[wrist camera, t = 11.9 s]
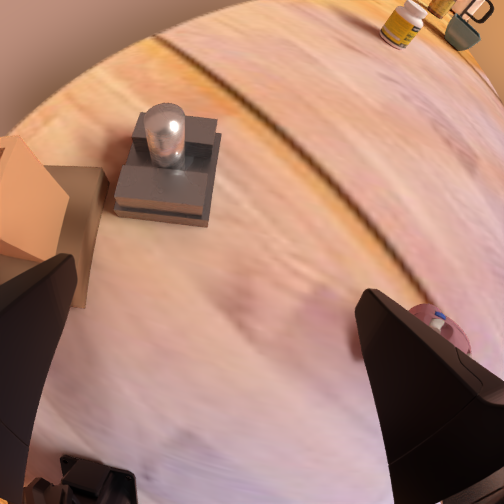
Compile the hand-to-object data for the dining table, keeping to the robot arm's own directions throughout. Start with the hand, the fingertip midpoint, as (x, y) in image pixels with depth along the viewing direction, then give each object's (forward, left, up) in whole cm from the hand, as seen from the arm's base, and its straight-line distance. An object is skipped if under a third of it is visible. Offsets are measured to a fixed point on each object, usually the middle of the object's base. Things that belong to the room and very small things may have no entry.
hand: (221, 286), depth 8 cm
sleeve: (+4, +14, -10) cm, 17 cm away
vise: (+10, +4, -13) cm, 16 cm away
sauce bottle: (+92, -57, -13) cm, 109 cm away
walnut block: (+4, +14, -13) cm, 19 cm away
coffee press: (+125, -88, -13) cm, 153 cm away
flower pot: (+69, -53, -13) cm, 88 cm away
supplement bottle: (+46, -25, -13) cm, 54 cm away
